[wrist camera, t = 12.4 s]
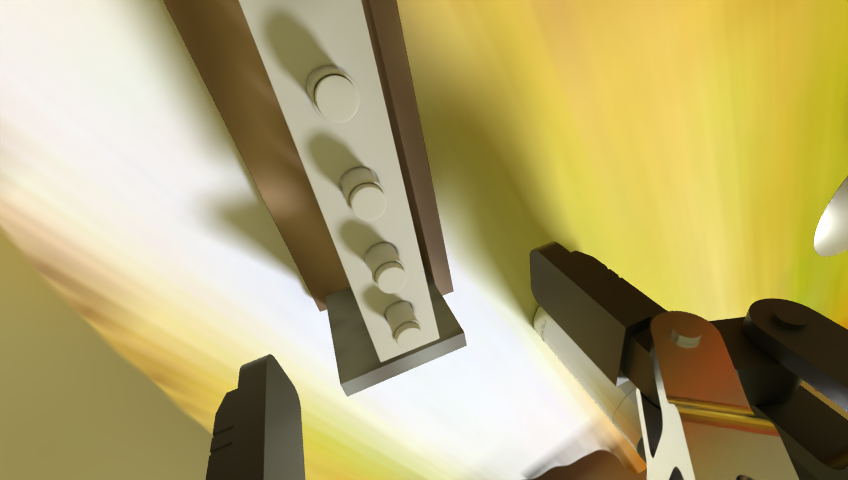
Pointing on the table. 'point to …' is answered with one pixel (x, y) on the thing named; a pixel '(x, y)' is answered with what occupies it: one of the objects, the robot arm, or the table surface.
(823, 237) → the desk lamp
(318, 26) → the long lego plate
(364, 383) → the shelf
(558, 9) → the table surface
